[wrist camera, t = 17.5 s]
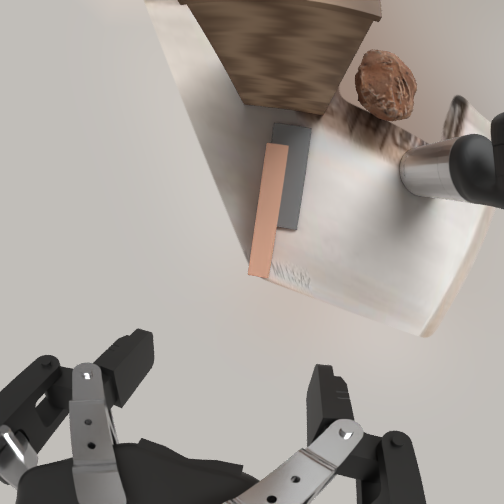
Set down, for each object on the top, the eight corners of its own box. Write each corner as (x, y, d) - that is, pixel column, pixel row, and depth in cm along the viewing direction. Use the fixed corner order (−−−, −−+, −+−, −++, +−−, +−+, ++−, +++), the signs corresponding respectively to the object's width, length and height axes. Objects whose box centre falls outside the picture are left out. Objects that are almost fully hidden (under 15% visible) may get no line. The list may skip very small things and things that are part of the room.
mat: (311, 129, 44) (311, 128, 44) (296, 229, 48) (296, 229, 48) (274, 123, 45) (274, 122, 44) (259, 223, 49) (259, 223, 48)
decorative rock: (351, 57, 40) (364, 33, 30) (405, 74, 39) (426, 55, 29) (347, 118, 43) (361, 102, 33) (403, 133, 42) (427, 123, 32)
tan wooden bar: (288, 148, 45) (288, 145, 41) (269, 271, 50) (268, 278, 47) (268, 145, 45) (266, 142, 42) (250, 268, 50) (247, 274, 47)
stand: (330, 50, 40) (368, -71, 8) (324, 117, 43) (381, 16, 12) (253, 40, 41) (216, -84, 9) (242, 105, 44) (177, -1, 13)
